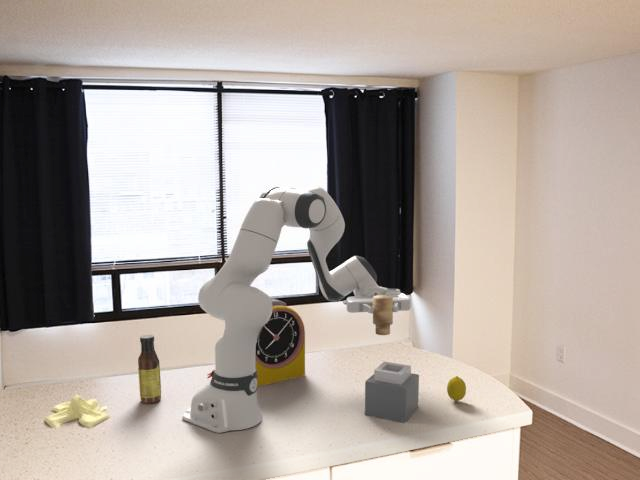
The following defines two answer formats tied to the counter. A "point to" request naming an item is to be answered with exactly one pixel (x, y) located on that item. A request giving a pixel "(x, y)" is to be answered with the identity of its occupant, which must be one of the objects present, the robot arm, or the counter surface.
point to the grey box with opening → (392, 392)
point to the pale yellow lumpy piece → (77, 413)
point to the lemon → (456, 388)
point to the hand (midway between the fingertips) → (383, 310)
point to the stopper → (383, 313)
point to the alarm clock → (280, 346)
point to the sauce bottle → (149, 371)
